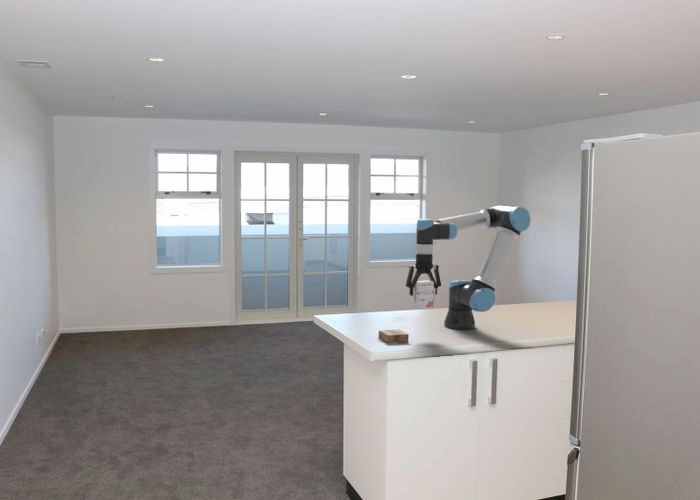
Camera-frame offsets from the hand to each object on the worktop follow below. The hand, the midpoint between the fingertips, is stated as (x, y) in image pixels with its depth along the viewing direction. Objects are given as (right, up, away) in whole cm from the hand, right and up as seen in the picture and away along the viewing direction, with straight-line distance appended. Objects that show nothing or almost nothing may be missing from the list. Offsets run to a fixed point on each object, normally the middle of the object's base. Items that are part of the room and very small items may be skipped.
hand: (423, 302), depth 308 cm
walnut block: (-14, -17, -8) cm, 23 cm away
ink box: (0, -2, 0) cm, 2 cm away
